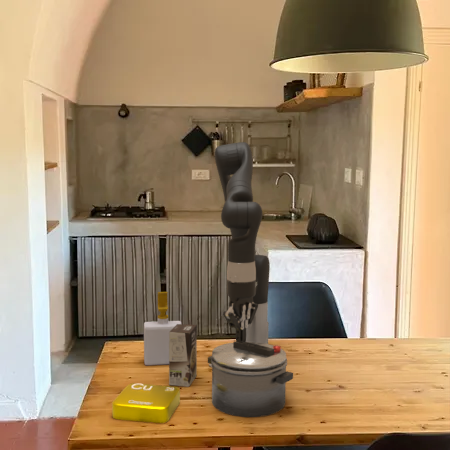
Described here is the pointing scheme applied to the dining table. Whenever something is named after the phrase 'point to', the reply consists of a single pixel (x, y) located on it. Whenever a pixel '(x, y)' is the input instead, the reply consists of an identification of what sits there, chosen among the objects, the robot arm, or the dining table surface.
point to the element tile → (146, 403)
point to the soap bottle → (158, 335)
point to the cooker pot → (249, 389)
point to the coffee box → (182, 355)
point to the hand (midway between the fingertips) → (240, 341)
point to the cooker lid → (249, 355)
